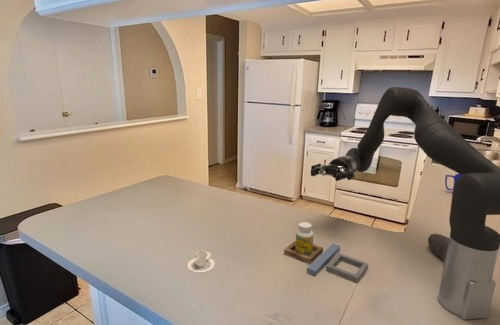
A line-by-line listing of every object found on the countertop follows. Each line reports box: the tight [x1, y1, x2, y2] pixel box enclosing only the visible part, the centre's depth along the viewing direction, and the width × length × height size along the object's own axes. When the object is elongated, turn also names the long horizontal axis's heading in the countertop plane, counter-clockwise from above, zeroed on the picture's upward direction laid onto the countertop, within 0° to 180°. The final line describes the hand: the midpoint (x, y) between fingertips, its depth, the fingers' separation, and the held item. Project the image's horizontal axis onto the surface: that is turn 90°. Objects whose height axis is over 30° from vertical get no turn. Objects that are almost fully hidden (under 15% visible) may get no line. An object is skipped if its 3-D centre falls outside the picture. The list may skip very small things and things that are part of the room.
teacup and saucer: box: [186, 250, 216, 274], centre depth 88 cm, size 9×8×4 cm
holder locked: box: [283, 240, 324, 265], centre depth 95 cm, size 9×9×2 cm
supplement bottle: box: [294, 221, 314, 256], centre depth 94 cm, size 5×5×10 cm
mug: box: [444, 173, 462, 191], centre depth 151 cm, size 8×12×10 cm
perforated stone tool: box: [427, 233, 449, 262], centre depth 93 cm, size 15×5×7 cm, turn 4°
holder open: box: [325, 252, 369, 284], centre depth 87 cm, size 9×9×2 cm
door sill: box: [306, 243, 341, 277], centre depth 91 cm, size 18×2×2 cm, turn 142°
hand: (324, 175), depth 98 cm, fingers open, 8 cm apart
